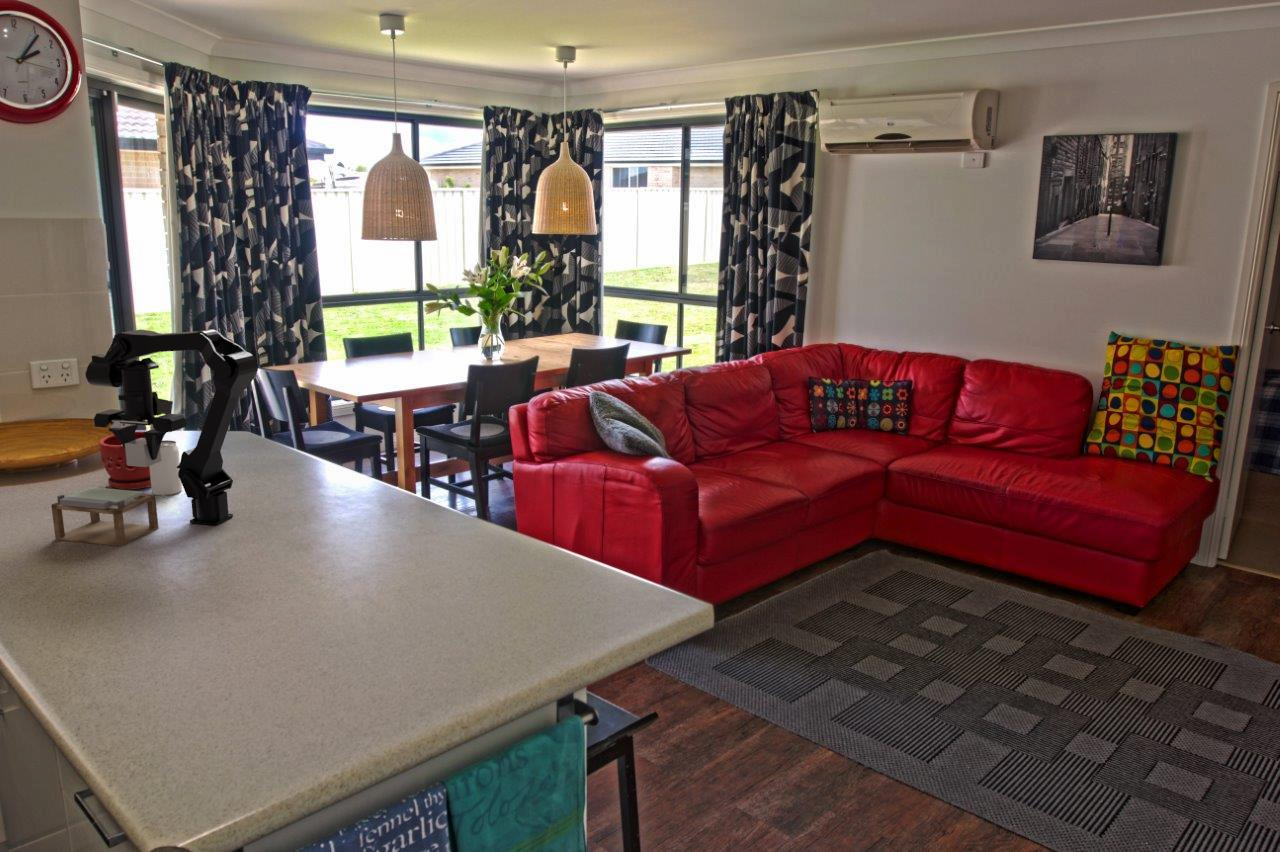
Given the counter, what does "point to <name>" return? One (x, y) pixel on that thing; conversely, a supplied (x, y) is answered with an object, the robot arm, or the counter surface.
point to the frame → (106, 523)
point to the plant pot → (122, 465)
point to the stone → (139, 453)
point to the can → (166, 471)
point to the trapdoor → (98, 498)
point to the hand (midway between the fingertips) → (143, 458)
